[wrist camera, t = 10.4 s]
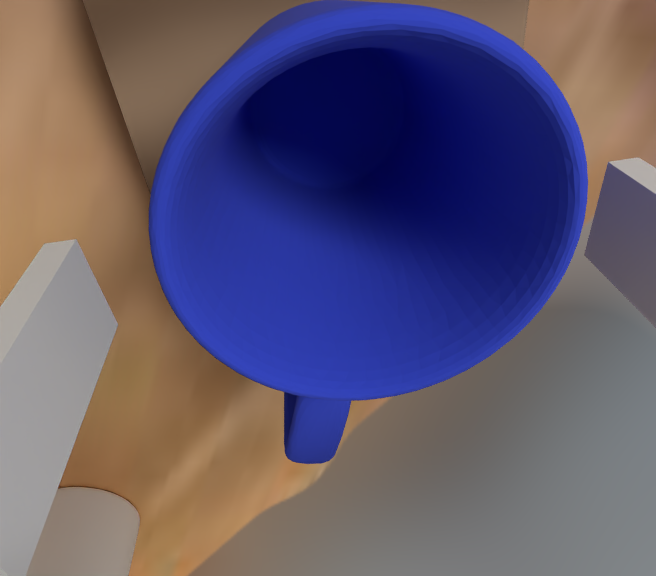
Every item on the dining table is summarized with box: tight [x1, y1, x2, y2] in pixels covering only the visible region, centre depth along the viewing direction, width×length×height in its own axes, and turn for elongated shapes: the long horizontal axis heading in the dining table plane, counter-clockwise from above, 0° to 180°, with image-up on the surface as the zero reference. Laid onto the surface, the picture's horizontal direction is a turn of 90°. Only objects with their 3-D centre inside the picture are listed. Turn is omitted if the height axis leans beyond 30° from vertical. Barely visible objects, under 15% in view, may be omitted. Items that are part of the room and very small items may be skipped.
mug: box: [149, 0, 588, 464], centre depth 14 cm, size 8×12×10 cm
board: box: [83, 0, 529, 194], centre depth 20 cm, size 16×14×4 cm
